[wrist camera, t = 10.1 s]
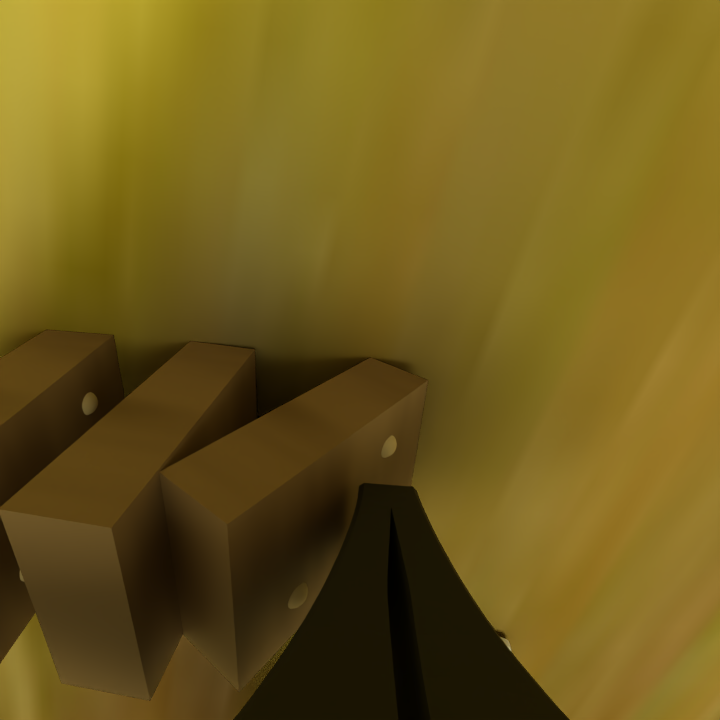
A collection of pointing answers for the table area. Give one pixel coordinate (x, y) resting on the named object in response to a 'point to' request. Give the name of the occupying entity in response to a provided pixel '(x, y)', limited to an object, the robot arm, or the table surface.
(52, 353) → the tile
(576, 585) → the table surface
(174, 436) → the tile
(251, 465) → the tile
